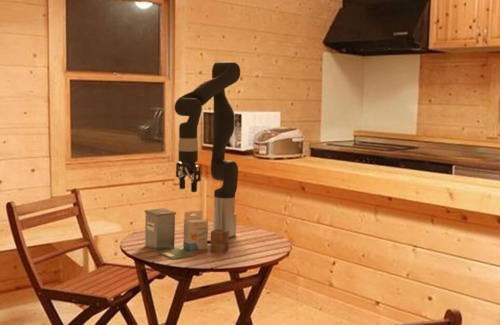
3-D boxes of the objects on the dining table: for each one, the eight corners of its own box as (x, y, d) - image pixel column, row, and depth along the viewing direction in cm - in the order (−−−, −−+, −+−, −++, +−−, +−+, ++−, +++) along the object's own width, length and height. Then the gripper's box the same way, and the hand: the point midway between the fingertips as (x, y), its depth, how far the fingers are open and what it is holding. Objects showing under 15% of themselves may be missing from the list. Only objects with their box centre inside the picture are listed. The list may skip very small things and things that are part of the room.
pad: (178, 248, 230) (178, 247, 230) (195, 255, 221) (195, 254, 221) (156, 252, 223) (156, 251, 223) (173, 259, 214) (173, 258, 214)
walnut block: (218, 248, 233) (219, 229, 232) (228, 250, 230) (228, 231, 229) (210, 251, 228) (211, 231, 228) (220, 253, 226) (221, 233, 225)
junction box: (163, 243, 238) (163, 208, 236) (175, 248, 230) (176, 212, 229) (144, 246, 232) (144, 210, 231) (156, 251, 225) (157, 214, 223)
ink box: (188, 251, 227) (189, 214, 225) (182, 248, 231) (183, 211, 229) (207, 248, 232) (208, 212, 230) (201, 246, 236) (202, 210, 234)
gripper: (206, 150, 223) (206, 192, 225) (186, 147, 234) (186, 186, 236) (189, 151, 218) (189, 194, 221) (170, 148, 230) (170, 188, 232)
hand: (188, 190), depth 228 cm, fingers open, 8 cm apart
